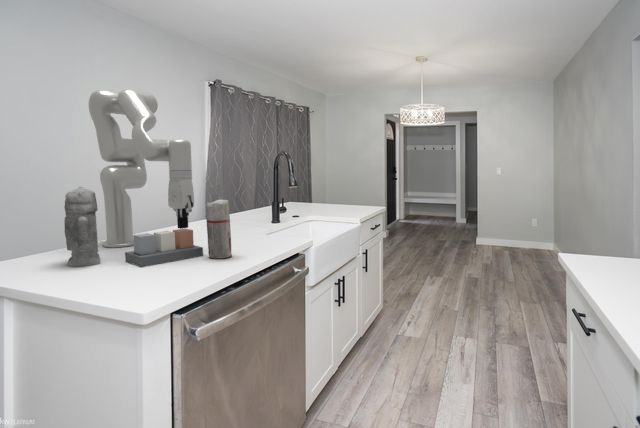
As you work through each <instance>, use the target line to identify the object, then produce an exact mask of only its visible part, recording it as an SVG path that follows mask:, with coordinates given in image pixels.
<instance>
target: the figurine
mask: <svg viewBox="0 0 640 428" xmlns="http://www.w3.org/2000/svg"><path fill="white" fill-rule="evenodd" d="M97 203H98V202H97V197H96V192H95V191H93V190H91V189H89V188H88V189H87V188H84V186H79V187H78V188H75V189H72V190H70V191H68V192H67V193H66V194H65V200H64V207H63V208H64V212H65V217H64V236H65V239H66V241H65V242H66V243H65V244H66V250H67V251H69V252H71V254H70V255H71V256H70V257H69V258H68V261H67V266H68V267H85V266H94V265H99V264H101V257H100V253H98V252H99V247H98V243H99V242H98V229H97V226H98V225H97V224H98V223H97V216H96V214H97V213H96V212H97V211H98V204H97Z"/></svg>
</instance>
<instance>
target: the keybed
mask: <svg viewBox="0 0 640 428" xmlns="http://www.w3.org/2000/svg"><path fill="white" fill-rule="evenodd" d="M203 256H204V247H203V246H199V245H196V244H195V245H194V247H188V248H182V249H180V248H176V247H175V250H170V251H164V252H160V251H157V250H156V253H152V254H146V255H139V254H136V253H134V250H132V251H131V250H130V251H125V252H124V261H125V262H127V263H131V264H132V265H135V266H138V267H141V268H144V267H150V266H154V265H155V266H156V265H160V264H161V265H162V264H165V263H166V264H167V263H171V262H176V261H181V260H187V259H193V258H197V257H198V258H199V257H203Z"/></svg>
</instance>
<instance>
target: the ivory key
mask: <svg viewBox="0 0 640 428" xmlns="http://www.w3.org/2000/svg"><path fill="white" fill-rule="evenodd" d="M153 235H155V243H156V250H157V251H160V252H164V251H170V250H175V232H173V231H170V230H164V231H163V230H162V231H156V232H153Z"/></svg>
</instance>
